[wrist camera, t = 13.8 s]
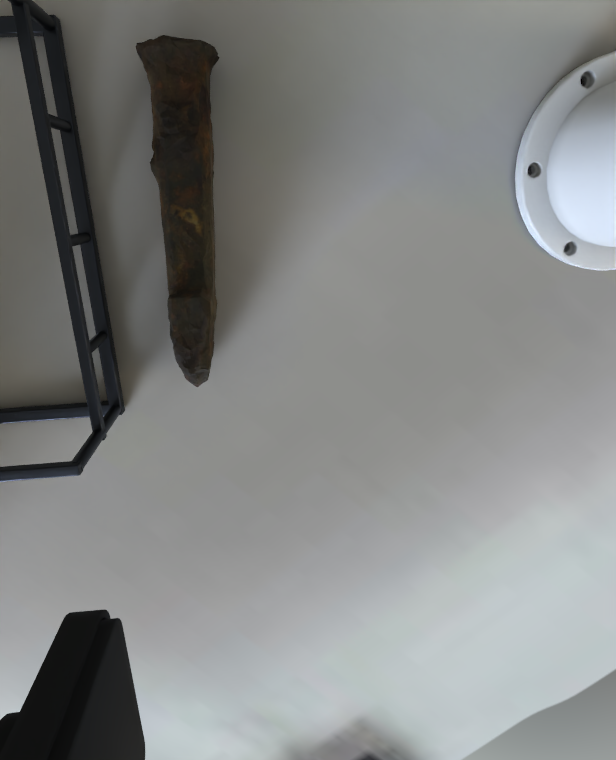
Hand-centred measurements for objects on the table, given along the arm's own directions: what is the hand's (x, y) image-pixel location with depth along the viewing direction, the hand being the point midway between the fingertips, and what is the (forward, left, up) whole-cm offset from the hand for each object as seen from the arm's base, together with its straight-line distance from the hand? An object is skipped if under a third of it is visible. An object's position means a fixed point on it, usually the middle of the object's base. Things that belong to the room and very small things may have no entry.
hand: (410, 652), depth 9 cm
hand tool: (+6, -6, -28) cm, 30 cm away
